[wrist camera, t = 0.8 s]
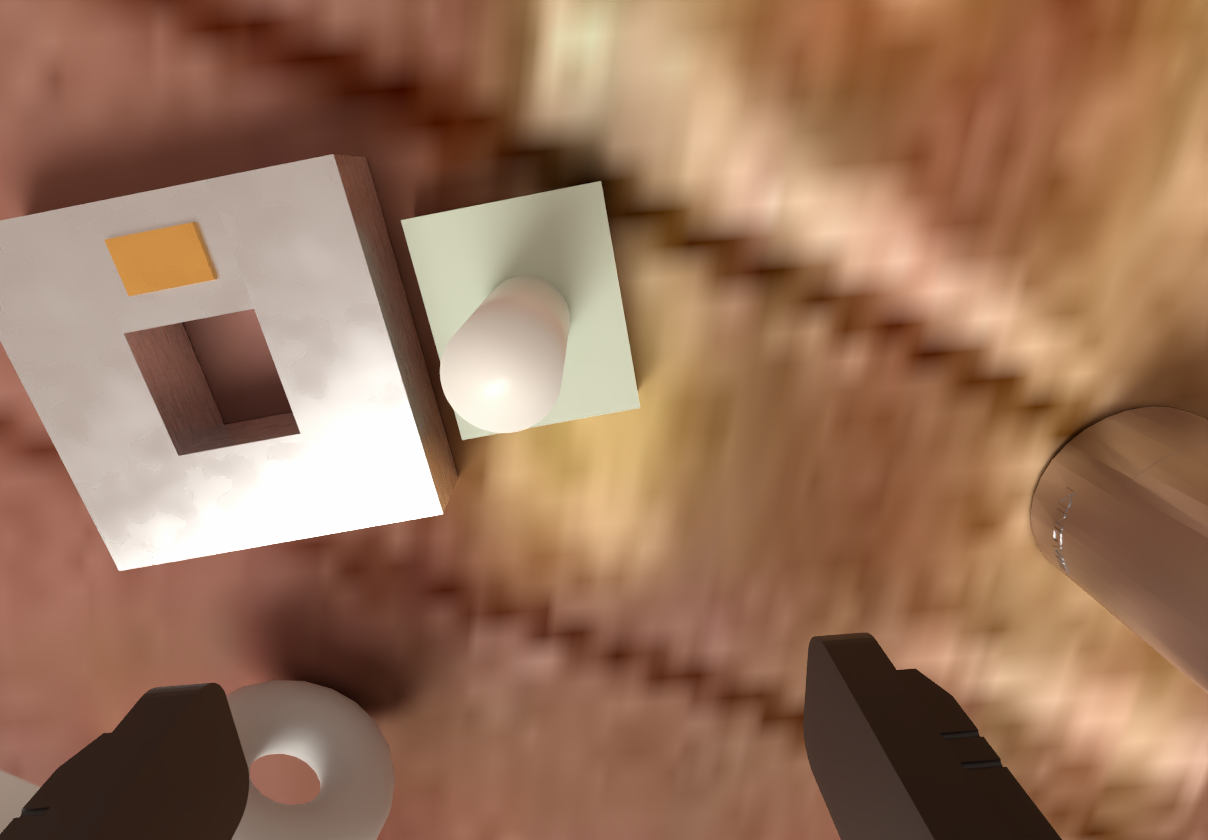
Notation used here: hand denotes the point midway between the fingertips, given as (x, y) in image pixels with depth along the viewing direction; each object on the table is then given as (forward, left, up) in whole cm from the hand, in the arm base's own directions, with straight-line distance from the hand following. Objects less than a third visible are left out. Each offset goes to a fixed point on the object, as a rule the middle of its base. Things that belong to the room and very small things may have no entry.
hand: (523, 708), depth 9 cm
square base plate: (+1, -2, -21) cm, 21 cm away
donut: (+16, +16, -21) cm, 31 cm away
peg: (+1, -2, -19) cm, 19 cm away
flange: (+13, -2, -21) cm, 24 cm away
